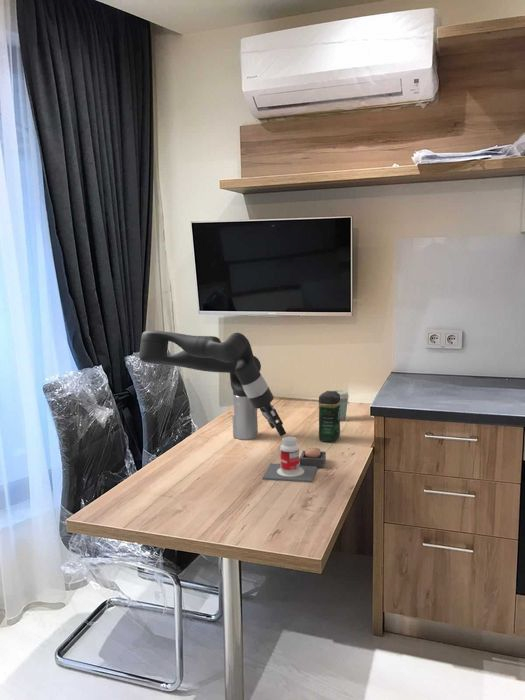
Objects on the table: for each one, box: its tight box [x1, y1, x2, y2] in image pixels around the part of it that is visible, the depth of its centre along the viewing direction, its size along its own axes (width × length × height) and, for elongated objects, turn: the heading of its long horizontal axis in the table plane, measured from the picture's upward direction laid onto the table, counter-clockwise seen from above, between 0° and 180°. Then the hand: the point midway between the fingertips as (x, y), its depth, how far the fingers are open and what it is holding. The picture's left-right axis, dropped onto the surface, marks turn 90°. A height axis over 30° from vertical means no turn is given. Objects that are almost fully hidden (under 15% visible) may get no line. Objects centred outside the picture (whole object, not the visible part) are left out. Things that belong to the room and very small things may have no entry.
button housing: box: [299, 450, 327, 469], centre depth 200 cm, size 8×8×3 cm
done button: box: [304, 446, 321, 458], centre depth 200 cm, size 5×5×2 cm
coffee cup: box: [334, 389, 349, 422], centre depth 251 cm, size 8×9×12 cm
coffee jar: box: [318, 390, 341, 443], centre depth 225 cm, size 10×8×19 cm
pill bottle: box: [279, 436, 300, 474], centre depth 192 cm, size 6×6×11 cm
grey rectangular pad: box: [262, 462, 318, 483], centre depth 192 cm, size 16×13×1 cm
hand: (279, 431), depth 194 cm, fingers open, 8 cm apart
